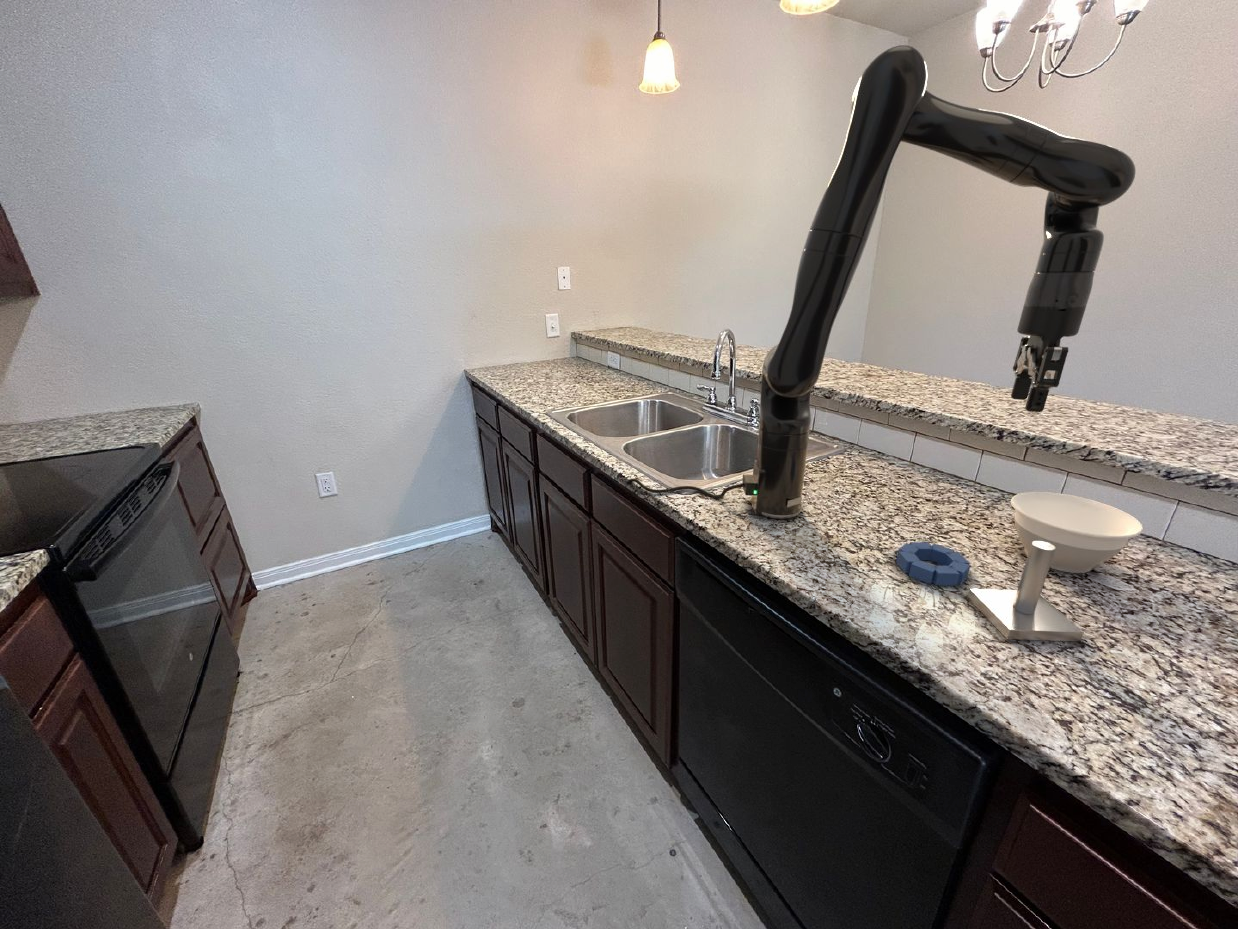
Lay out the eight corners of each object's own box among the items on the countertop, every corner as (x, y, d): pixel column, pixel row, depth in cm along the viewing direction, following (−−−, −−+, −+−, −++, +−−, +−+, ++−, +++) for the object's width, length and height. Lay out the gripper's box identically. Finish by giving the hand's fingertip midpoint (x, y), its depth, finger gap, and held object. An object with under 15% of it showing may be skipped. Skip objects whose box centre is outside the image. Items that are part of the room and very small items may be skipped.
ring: (914, 585, 76) (916, 572, 75) (888, 552, 85) (890, 541, 84) (978, 586, 76) (982, 574, 75) (945, 553, 84) (948, 542, 83)
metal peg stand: (1006, 639, 65) (1031, 563, 61) (967, 597, 73) (986, 528, 69) (1080, 641, 64) (1110, 565, 60) (1032, 598, 72) (1055, 529, 68)
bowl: (1008, 525, 93) (1020, 483, 90) (1126, 557, 82) (1145, 510, 79) (988, 559, 82) (1001, 513, 79) (1120, 600, 72) (1142, 548, 69)
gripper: (1012, 300, 85) (988, 394, 91) (1039, 305, 73) (1009, 413, 78) (1068, 300, 82) (1039, 397, 88) (1105, 306, 70) (1069, 418, 76)
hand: (1025, 404), depth 83 cm, fingers open, 8 cm apart
